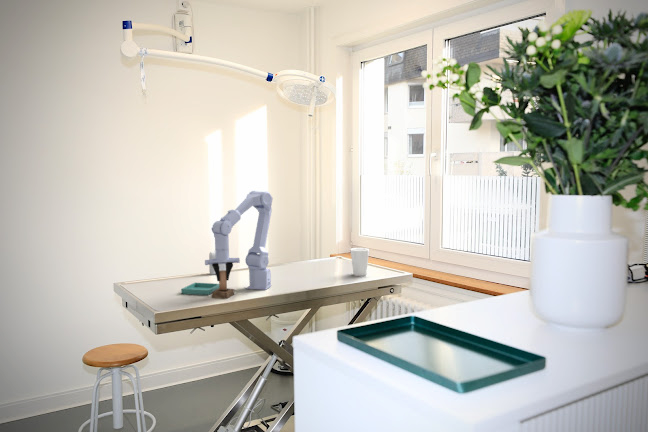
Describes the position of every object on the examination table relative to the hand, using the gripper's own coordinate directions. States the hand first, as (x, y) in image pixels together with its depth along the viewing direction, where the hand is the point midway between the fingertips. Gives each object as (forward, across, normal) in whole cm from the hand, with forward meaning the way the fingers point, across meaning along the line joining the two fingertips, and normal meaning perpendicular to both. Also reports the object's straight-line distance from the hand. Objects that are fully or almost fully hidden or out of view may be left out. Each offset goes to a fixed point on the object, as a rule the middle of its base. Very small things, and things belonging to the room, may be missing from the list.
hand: (222, 280), depth 236 cm
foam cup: (+7, -72, -19) cm, 75 cm away
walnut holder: (+7, 0, 0) cm, 7 cm away
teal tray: (+7, +8, -12) cm, 16 cm away
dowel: (+4, 0, 0) cm, 4 cm away
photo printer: (+7, -6, -47) cm, 48 cm away
